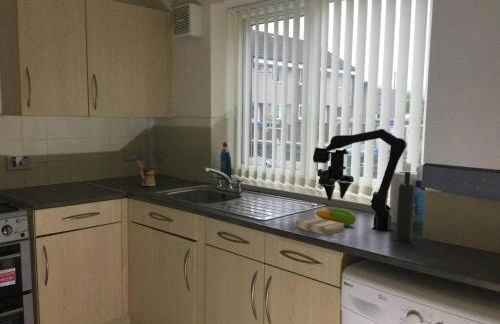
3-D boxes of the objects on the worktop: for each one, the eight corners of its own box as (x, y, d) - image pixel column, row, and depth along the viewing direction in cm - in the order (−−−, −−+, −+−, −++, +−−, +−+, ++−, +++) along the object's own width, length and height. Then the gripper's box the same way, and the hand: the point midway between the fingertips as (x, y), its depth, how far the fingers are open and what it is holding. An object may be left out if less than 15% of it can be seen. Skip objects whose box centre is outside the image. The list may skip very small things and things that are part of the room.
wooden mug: (132, 186, 282) (133, 158, 280) (149, 184, 292) (150, 157, 291) (141, 188, 276) (141, 159, 275) (158, 186, 287) (158, 158, 285)
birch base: (343, 230, 182) (344, 223, 182) (326, 235, 174) (326, 228, 174) (313, 223, 194) (313, 216, 193) (295, 227, 185) (295, 220, 185)
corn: (351, 211, 184) (311, 204, 197) (349, 229, 185) (309, 221, 198) (359, 210, 190) (319, 203, 203) (358, 227, 190) (318, 219, 203)
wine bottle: (412, 242, 167) (417, 164, 164) (396, 241, 168) (401, 163, 165) (409, 238, 172) (414, 162, 170) (394, 237, 173) (399, 162, 171)
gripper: (334, 161, 204) (332, 194, 206) (309, 163, 191) (307, 198, 193) (355, 163, 196) (353, 198, 198) (330, 165, 183) (328, 202, 185)
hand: (335, 199), depth 193 cm, fingers open, 9 cm apart
